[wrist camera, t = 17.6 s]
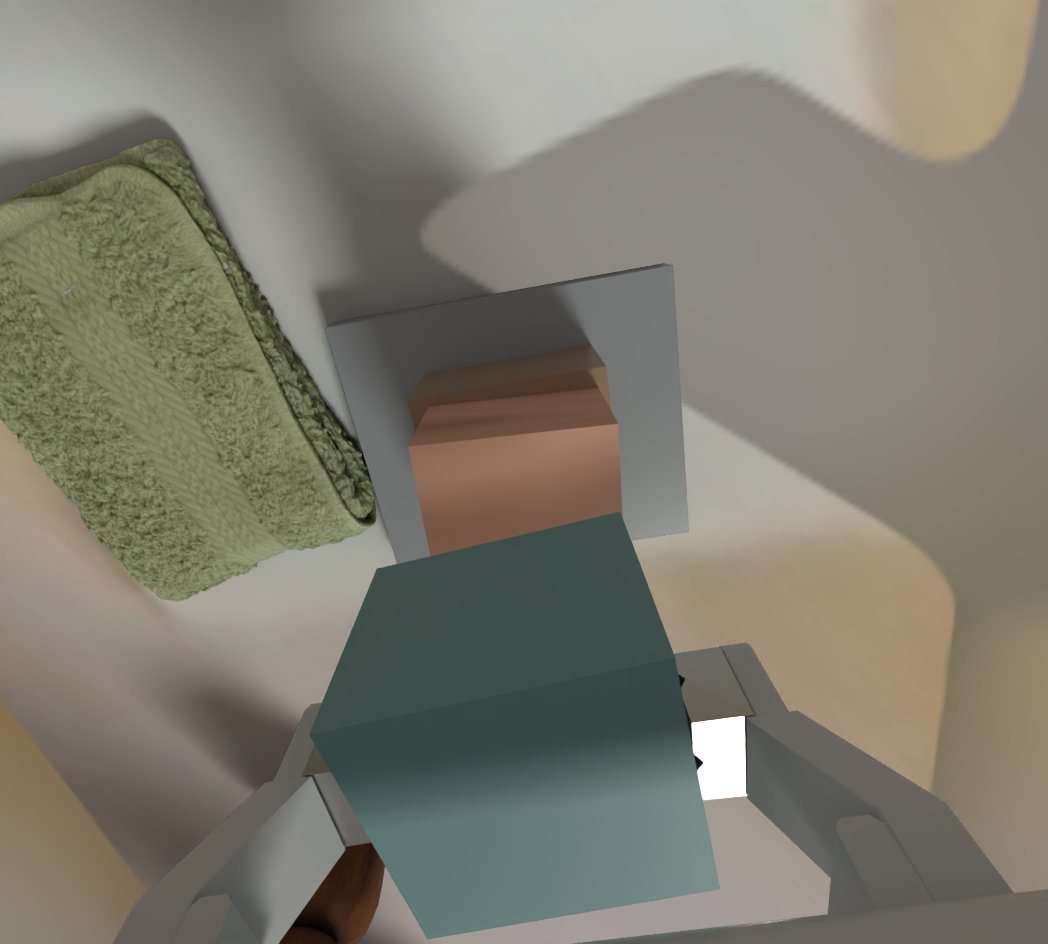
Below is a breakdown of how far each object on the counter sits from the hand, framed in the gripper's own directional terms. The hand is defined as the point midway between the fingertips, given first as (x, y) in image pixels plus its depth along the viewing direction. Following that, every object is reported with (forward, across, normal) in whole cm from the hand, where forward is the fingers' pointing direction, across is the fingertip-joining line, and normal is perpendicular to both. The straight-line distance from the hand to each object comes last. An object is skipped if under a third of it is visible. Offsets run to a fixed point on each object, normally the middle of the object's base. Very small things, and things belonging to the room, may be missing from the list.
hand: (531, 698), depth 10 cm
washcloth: (+17, -15, +4) cm, 23 cm away
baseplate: (+16, 0, 0) cm, 16 cm away
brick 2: (+2, 0, 0) cm, 2 cm away
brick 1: (+11, 0, 0) cm, 11 cm away
